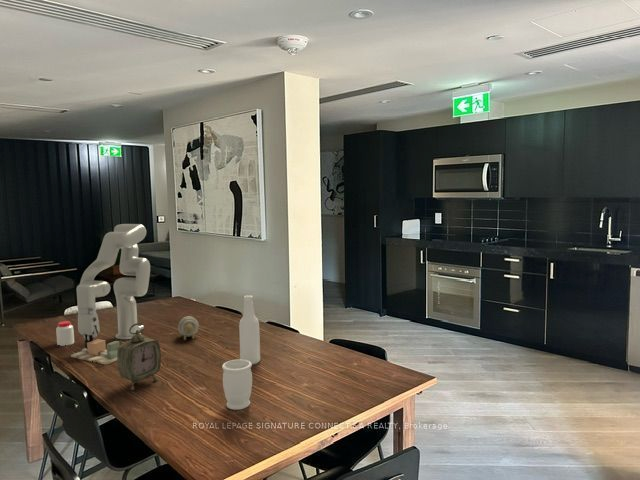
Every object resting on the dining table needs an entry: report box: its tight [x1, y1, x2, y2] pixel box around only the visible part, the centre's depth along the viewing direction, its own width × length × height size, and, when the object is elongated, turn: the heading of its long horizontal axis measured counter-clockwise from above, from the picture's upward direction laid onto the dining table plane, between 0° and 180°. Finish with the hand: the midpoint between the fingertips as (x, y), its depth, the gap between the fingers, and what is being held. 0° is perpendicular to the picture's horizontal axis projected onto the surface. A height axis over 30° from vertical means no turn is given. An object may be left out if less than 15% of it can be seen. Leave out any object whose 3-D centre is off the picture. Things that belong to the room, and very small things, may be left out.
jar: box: [221, 359, 253, 411], centre depth 166 cm, size 11×10×15 cm
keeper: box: [87, 338, 107, 356], centre depth 219 cm, size 5×6×6 cm
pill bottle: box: [55, 320, 75, 347], centre depth 238 cm, size 8×8×11 cm
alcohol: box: [238, 294, 261, 366], centre depth 207 cm, size 9×9×30 cm
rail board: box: [70, 340, 120, 366], centre depth 218 cm, size 24×12×8 cm, turn 63°
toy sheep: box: [177, 315, 200, 341], centre depth 246 cm, size 11×17×11 cm, turn 23°
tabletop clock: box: [116, 322, 162, 391], centre depth 185 cm, size 14×9×25 cm, turn 148°
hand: (89, 347), depth 221 cm, fingers closed
